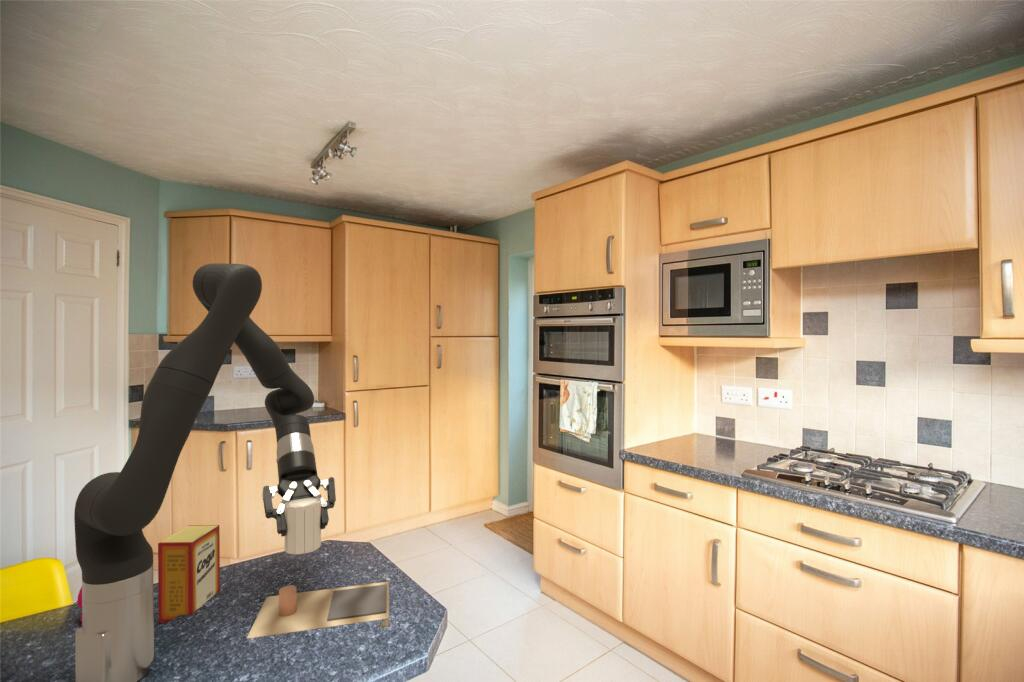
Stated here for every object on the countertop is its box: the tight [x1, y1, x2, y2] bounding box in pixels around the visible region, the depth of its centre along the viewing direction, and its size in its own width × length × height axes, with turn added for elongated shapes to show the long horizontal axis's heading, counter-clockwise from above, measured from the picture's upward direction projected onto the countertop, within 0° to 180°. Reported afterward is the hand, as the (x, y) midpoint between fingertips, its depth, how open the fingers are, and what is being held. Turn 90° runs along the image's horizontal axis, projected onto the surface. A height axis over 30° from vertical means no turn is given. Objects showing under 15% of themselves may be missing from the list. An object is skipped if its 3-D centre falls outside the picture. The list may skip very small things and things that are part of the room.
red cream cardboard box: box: [157, 524, 221, 623], centre depth 101 cm, size 10×6×16 cm
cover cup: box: [284, 497, 322, 555], centre depth 97 cm, size 6×6×9 cm
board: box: [246, 581, 390, 640], centre depth 98 cm, size 25×15×2 cm, turn 104°
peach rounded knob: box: [278, 584, 297, 616], centre depth 97 cm, size 3×3×4 cm
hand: (304, 530), depth 96 cm, fingers closed on cover cup, 6 cm apart
